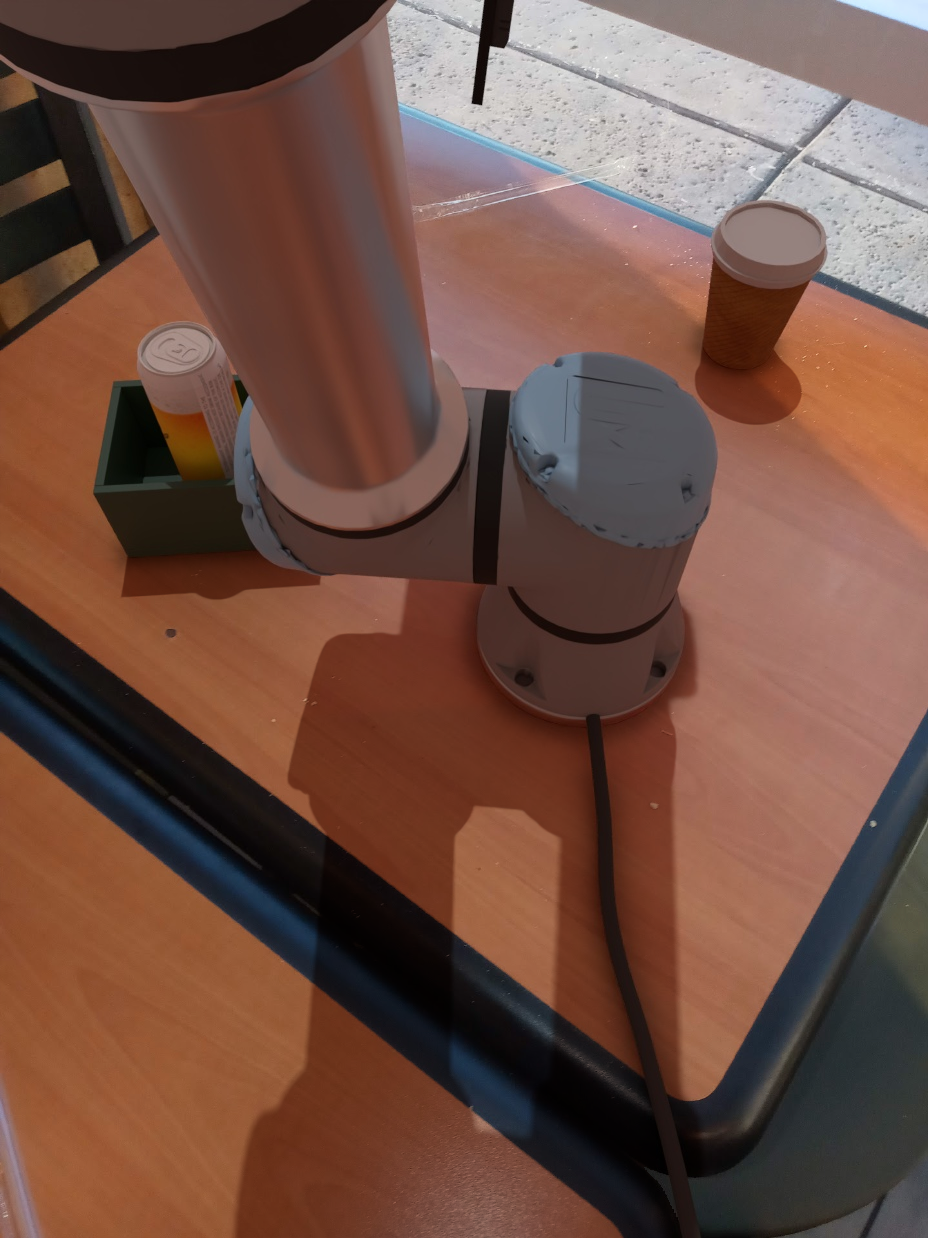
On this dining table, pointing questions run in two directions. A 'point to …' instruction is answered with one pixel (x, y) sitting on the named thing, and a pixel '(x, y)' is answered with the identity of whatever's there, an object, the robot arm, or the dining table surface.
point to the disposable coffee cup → (758, 278)
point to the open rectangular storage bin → (160, 486)
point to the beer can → (192, 397)
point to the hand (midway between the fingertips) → (379, 83)
